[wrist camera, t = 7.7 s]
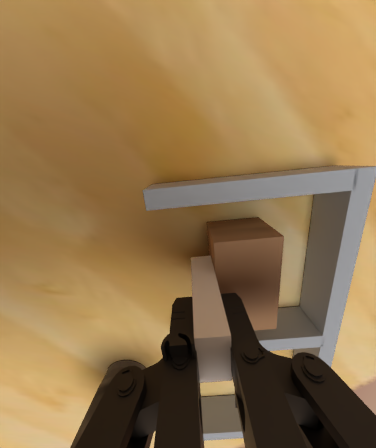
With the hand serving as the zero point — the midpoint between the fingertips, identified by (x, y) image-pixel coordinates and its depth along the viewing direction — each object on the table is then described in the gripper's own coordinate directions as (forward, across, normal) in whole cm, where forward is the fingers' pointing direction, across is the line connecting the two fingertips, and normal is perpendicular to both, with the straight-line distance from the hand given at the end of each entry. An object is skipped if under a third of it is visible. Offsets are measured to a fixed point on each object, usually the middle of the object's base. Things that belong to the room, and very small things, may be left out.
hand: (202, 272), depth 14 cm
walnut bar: (+2, +3, 0) cm, 3 cm away
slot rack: (+1, +3, -6) cm, 7 cm away
